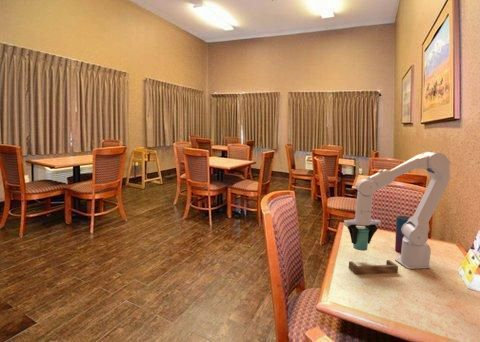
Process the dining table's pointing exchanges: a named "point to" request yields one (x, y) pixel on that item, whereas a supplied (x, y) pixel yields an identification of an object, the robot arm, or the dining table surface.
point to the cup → (399, 236)
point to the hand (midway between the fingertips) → (360, 243)
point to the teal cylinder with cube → (362, 239)
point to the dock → (374, 268)
